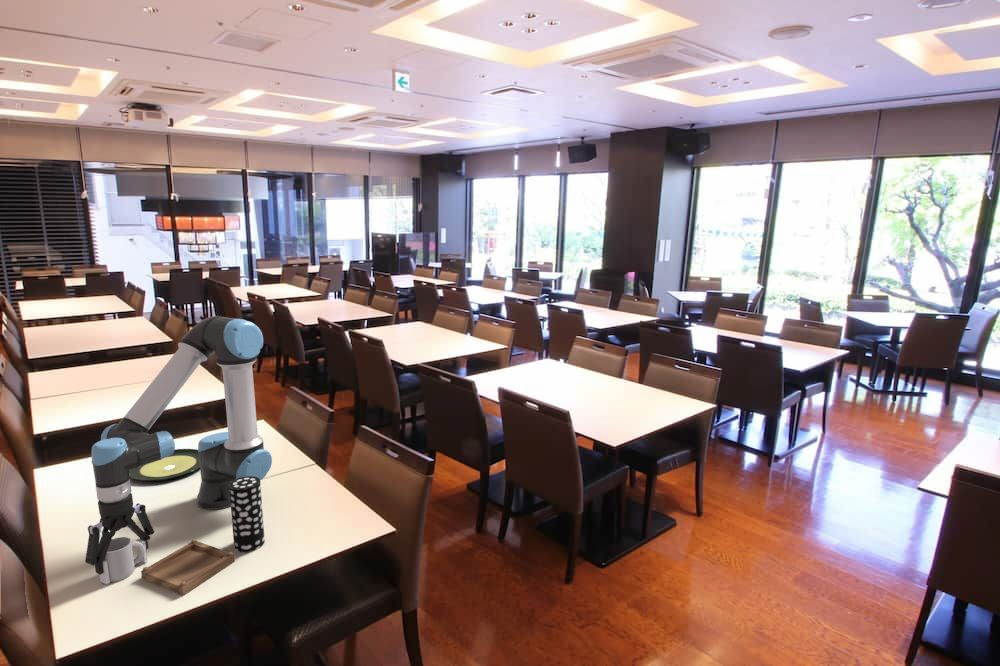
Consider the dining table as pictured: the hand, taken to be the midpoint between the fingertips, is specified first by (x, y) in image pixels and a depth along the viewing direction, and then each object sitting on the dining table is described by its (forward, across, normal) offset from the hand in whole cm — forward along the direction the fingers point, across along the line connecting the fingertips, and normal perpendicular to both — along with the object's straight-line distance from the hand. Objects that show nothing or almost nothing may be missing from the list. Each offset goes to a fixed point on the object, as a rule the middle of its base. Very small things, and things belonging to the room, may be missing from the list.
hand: (124, 571), depth 151 cm
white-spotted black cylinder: (0, +24, -20) cm, 31 cm away
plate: (+1, +48, +48) cm, 68 cm away
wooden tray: (0, +8, -15) cm, 17 cm away
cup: (0, 0, 0) cm, 0 cm away
